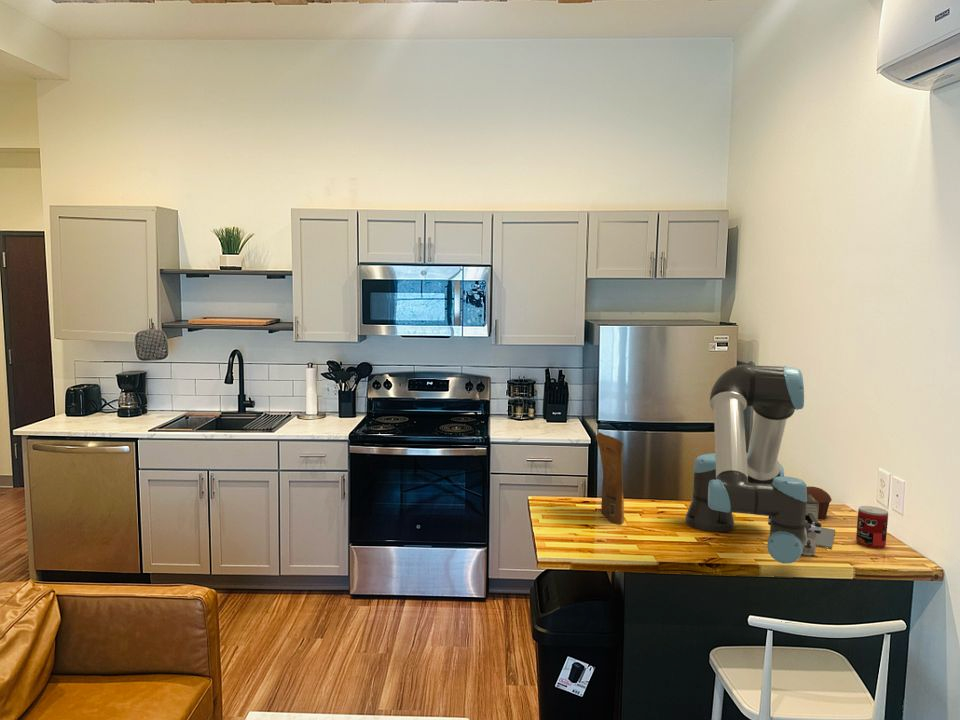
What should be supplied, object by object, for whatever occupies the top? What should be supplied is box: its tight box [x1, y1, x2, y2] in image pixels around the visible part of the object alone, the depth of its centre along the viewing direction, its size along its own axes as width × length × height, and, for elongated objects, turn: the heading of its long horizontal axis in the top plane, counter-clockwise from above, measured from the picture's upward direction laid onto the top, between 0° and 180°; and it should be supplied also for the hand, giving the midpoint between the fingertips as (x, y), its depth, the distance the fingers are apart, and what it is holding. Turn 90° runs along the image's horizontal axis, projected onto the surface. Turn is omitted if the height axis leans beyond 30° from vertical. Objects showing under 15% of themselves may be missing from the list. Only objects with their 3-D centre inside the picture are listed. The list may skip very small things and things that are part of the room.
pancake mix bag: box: [595, 431, 625, 525], centre depth 224 cm, size 7×19×28 cm, turn 8°
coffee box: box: [802, 494, 819, 556], centre depth 199 cm, size 9×6×16 cm
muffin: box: [807, 486, 833, 520], centre depth 233 cm, size 12×11×10 cm
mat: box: [816, 526, 836, 549], centre depth 213 cm, size 16×19×1 cm
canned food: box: [855, 505, 889, 549], centre depth 205 cm, size 8×8×11 cm
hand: (800, 509), depth 189 cm, fingers closed
